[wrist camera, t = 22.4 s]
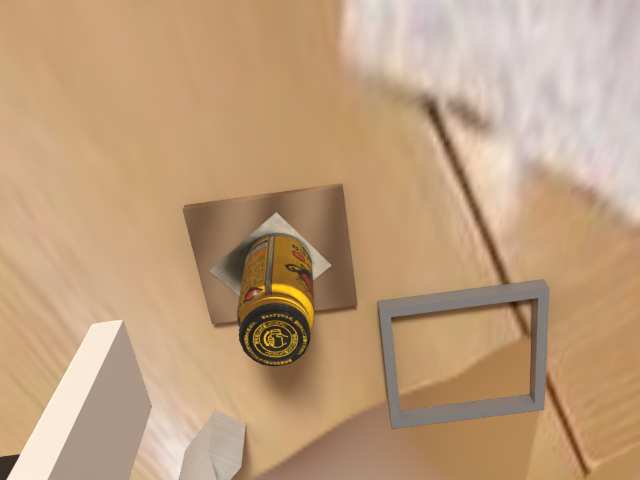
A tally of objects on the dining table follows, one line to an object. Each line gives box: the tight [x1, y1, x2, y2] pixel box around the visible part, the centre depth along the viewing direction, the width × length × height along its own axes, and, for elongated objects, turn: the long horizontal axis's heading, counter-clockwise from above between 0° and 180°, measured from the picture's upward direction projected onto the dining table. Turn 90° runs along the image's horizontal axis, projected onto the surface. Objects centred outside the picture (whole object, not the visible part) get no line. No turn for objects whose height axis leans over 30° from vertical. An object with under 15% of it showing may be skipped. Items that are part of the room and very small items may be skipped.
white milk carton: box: [179, 410, 246, 480], centre depth 60 cm, size 4×7×10 cm, turn 147°
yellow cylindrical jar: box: [210, 212, 332, 366], centre depth 49 cm, size 7×8×12 cm
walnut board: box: [183, 184, 357, 324], centre depth 54 cm, size 14×12×1 cm
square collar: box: [378, 280, 549, 429], centre depth 60 cm, size 16×15×2 cm
